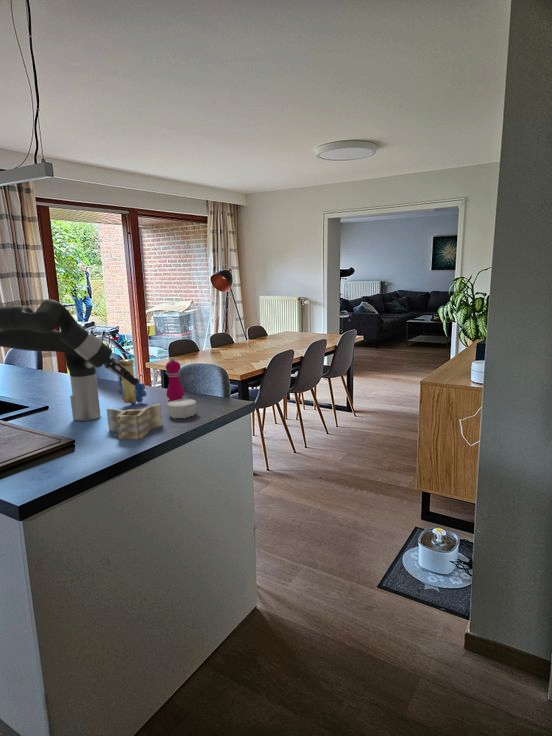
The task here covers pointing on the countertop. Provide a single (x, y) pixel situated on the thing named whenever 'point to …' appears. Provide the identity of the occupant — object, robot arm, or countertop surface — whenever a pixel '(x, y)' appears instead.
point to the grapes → (138, 390)
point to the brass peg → (127, 387)
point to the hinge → (134, 421)
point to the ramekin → (181, 408)
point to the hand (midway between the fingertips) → (134, 381)
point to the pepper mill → (174, 381)
